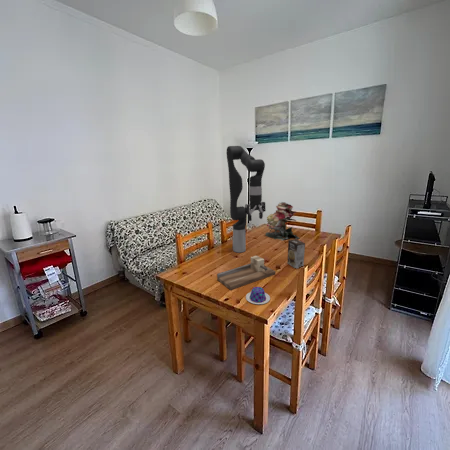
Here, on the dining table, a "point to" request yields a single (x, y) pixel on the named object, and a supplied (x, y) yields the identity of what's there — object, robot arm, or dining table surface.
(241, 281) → the walnut board
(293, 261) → the coffee box
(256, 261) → the block
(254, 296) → the pudding
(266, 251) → the dining table surface
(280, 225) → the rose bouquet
